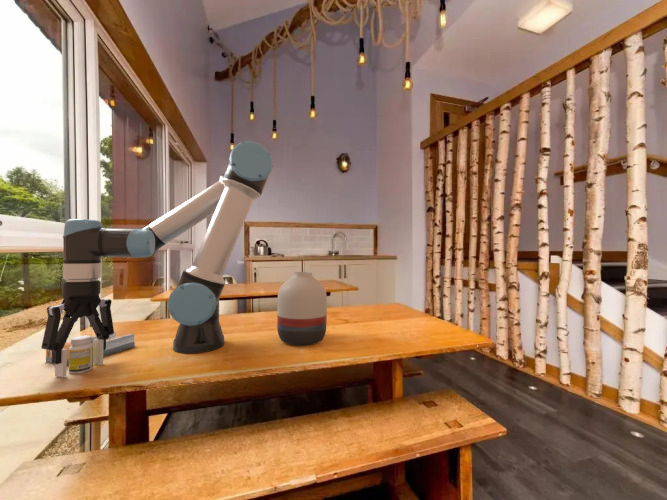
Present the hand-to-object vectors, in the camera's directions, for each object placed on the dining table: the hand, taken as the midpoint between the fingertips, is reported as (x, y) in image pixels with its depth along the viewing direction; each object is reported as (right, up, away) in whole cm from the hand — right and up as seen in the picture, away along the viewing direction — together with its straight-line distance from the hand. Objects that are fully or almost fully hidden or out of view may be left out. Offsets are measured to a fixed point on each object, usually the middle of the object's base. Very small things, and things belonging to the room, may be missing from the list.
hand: (80, 369), depth 77 cm
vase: (+54, -1, +28) cm, 60 cm away
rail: (-6, 0, +13) cm, 14 cm away
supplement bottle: (0, 0, 0) cm, 0 cm away
